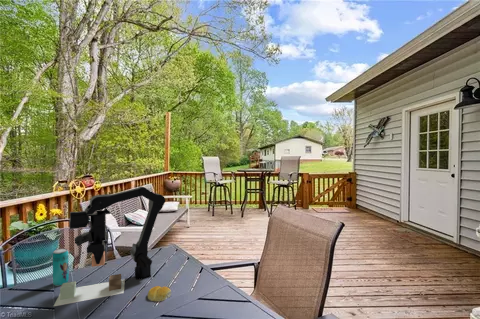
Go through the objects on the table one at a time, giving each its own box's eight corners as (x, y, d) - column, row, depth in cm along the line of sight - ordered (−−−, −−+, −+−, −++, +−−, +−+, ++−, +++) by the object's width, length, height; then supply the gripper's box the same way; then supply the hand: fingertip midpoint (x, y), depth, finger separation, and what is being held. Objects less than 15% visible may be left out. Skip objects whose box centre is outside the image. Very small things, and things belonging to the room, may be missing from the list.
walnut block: (121, 283, 113) (121, 273, 113) (120, 288, 108) (120, 278, 108) (109, 286, 111) (109, 275, 111) (108, 290, 107) (108, 280, 107)
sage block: (75, 292, 106) (75, 281, 106) (73, 297, 102) (73, 286, 102) (63, 294, 104) (62, 283, 104) (60, 299, 100) (60, 288, 100)
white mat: (124, 280, 117) (124, 279, 117) (123, 294, 105) (123, 293, 105) (62, 291, 108) (62, 290, 108) (53, 308, 96) (53, 306, 96)
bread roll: (154, 291, 108) (154, 281, 108) (174, 293, 106) (173, 284, 106) (142, 301, 100) (142, 291, 100) (163, 304, 98) (163, 294, 98)
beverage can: (60, 288, 111) (60, 253, 110) (49, 286, 112) (49, 252, 112) (71, 281, 116) (71, 248, 116) (61, 280, 117) (60, 247, 117)
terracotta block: (105, 261, 113) (104, 250, 113) (103, 265, 109) (103, 254, 109) (93, 262, 111) (93, 252, 111) (91, 266, 107) (91, 256, 107)
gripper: (80, 222, 115) (80, 257, 115) (71, 233, 98) (71, 274, 98) (108, 219, 120) (108, 253, 120) (104, 230, 102) (104, 269, 102)
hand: (98, 261), depth 110 cm, fingers closed on terracotta block, 4 cm apart
